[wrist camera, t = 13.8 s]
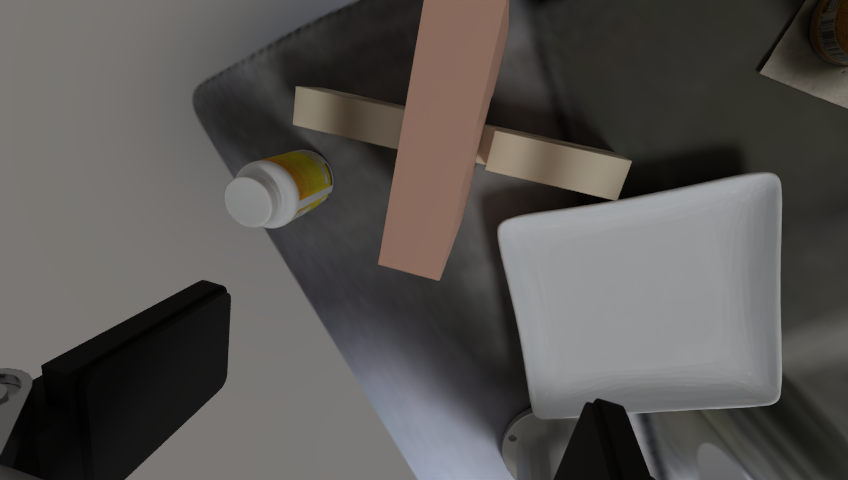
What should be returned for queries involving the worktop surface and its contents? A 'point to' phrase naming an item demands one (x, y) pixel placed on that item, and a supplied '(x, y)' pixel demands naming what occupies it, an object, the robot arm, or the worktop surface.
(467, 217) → the worktop surface
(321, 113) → the birch rail
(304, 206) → the supplement bottle
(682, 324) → the salad plate
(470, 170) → the pink rectangular slab
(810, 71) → the condiment
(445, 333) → the worktop surface
